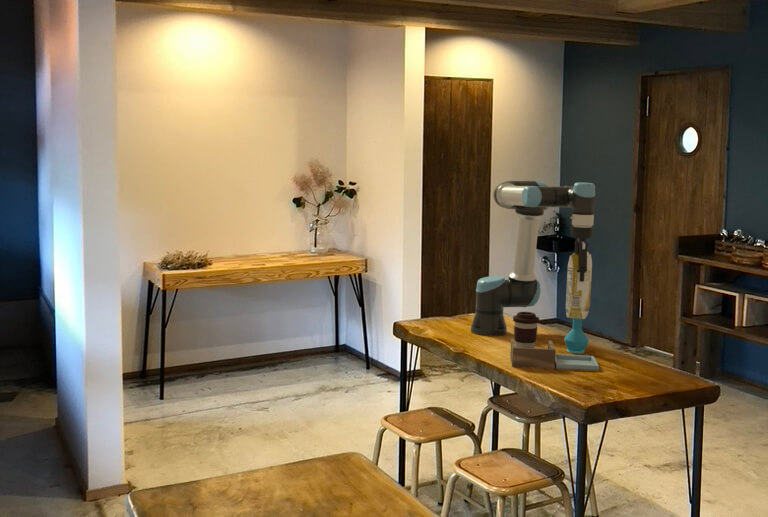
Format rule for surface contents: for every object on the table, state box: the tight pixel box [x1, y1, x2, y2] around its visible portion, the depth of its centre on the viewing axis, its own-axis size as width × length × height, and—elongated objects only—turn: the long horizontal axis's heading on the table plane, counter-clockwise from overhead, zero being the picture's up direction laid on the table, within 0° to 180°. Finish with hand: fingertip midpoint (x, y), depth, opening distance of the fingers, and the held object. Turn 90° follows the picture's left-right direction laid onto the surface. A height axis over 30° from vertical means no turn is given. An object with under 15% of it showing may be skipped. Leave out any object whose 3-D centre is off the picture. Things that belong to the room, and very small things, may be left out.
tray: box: [555, 353, 600, 372], centre depth 313 cm, size 14×15×2 cm
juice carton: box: [565, 251, 593, 320], centre depth 309 cm, size 9×8×24 cm
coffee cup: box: [512, 311, 540, 348], centre depth 331 cm, size 10×10×15 cm
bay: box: [509, 338, 557, 370], centre depth 315 cm, size 14×15×7 cm
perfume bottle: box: [563, 318, 589, 354], centre depth 333 cm, size 9×9×15 cm
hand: (578, 287), depth 309 cm, fingers closed on juice carton, 10 cm apart
